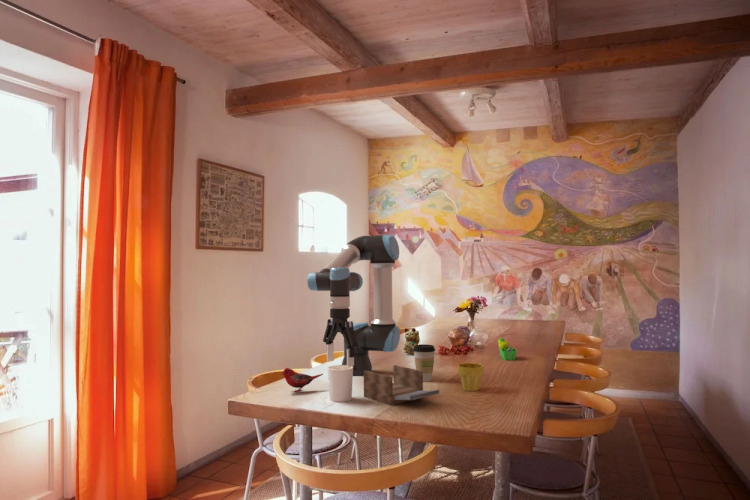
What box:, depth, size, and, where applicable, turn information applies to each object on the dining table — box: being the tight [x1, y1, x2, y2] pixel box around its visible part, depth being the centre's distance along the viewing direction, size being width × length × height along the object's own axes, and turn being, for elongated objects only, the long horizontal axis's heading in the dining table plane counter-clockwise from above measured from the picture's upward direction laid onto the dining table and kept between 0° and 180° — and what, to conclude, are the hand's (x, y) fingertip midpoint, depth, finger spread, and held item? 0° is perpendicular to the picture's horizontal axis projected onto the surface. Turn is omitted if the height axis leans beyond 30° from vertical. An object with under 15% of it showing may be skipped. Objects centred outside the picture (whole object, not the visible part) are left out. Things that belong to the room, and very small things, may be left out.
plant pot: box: [457, 362, 485, 392], centre depth 210 cm, size 10×10×10 cm
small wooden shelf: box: [363, 364, 424, 406], centre depth 198 cm, size 16×16×10 cm
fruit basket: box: [497, 337, 518, 361], centre depth 275 cm, size 11×9×11 cm
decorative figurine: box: [402, 327, 421, 356], centre depth 291 cm, size 10×8×15 cm
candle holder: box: [327, 364, 354, 403], centre depth 197 cm, size 10×10×12 cm
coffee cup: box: [413, 343, 436, 383], centre depth 227 cm, size 10×10×15 cm
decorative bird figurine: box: [280, 367, 324, 393], centre depth 209 cm, size 3×18×10 cm, turn 113°
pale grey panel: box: [394, 389, 440, 401], centre depth 188 cm, size 1×13×10 cm
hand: (340, 363), depth 196 cm, fingers open, 13 cm apart
